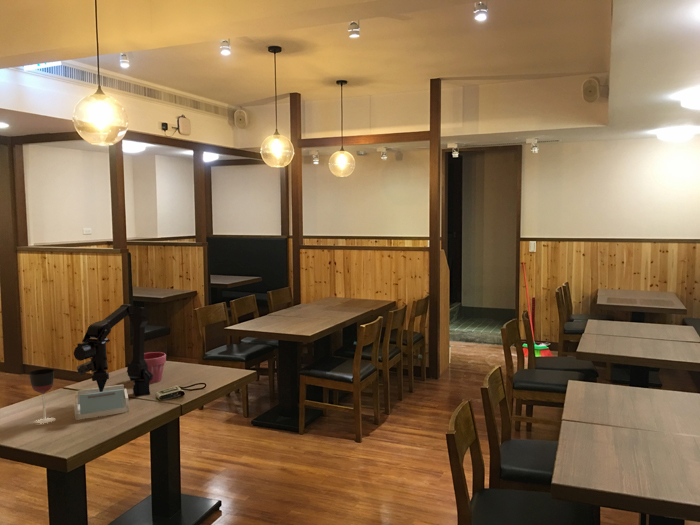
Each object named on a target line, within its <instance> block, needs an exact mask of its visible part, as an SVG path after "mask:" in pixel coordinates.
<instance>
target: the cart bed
mask: <svg viewBox="0 0 700 525" xmlns="http://www.w3.org/2000/svg"><path fill="white" fill-rule="evenodd" d="M124 386H125V385H124V384H117V385H109V386H104V389H103V392H105V391H112V390H120V389H123V404H124V408H118V409H111V410H105V411H98V412H91V413H85V414H80V398H79V395H83V394H91V393H98V392H100V391H99V388H98V387H93V388H87V389H80V390H77V394H76V395H74V404H73V405H74V419H75V421H78V420H85V418H86V419H90V418H91V419H92V418H98V416H99V417H104V416H110V415H117V414H123V413H124V412H125V413H129V412H130V406H129V405H130V404H129V403H130V402H129V395H128V390H127V388H125V387H124Z"/></svg>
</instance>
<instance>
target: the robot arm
mask: <svg viewBox="0 0 700 525" xmlns="http://www.w3.org/2000/svg"><path fill="white" fill-rule="evenodd" d="M127 317H129V322H130V324H131V326H132V352H131V353H132V356H131V361H130V362H128V363H127V365H126V367H127V368H126V369H127V370H126V373H127V376H128V377H129V378H128V379H129V380H130V381H131V382H133V383H132V394H133V395H134V396H135V397H141V396H148V395H151V390H150V383H149V381H151V380H152V378H153V375H152V374H151V373H150V372H149V371H148V365H147V363H146V361H145V359H144V353H145V339H146V338H145V335H146V334H145V331H146V330H145V328H146V326H147V324H148V323H149V320H150V310H149V309H148V308H147V307H140V306H139V307H138V306H136V305H133V304H128V303H126V304H125V303H123V304H121V305H120V306H119V307H118V308H117V309H115V310H114V311H113V312H112V313H110V314H108V316H106V317H105V318H104V319H102V320H99V321H95V322H93V323H92V324H90V325H88V327H87V330H86V331H85V334H84V337H83V339H82V341H81V342H78V343H77V344H76V345H77V346H76V347H75V348H74V351H73V356H74V359H75V360H77V361H81V362H82V361H85V360H87V359H90V360H89V361H86V362H84V363H82V364H78V365H77V366H76V370H77V373H78V374H79V376H83V375H84V374H87V373H88V372H90V371H91V381H92V382H95V381H96V383H97V388H99V391H100V392H103V389H104V387H106V383H107V381H108V380H109V379H110V374H109V371H108V370H109V365H108V354H107V343H109V342H110V341H111V340H110V339H109V338H107V337H108V336H109V335H110V334H111V332H112V329H113V328H114V327H115V326H116V325H118V324H119V323H120V322H121V321H123V320H124V319H125V318H127Z"/></svg>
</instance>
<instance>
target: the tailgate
mask: <svg viewBox="0 0 700 525" xmlns="http://www.w3.org/2000/svg"><path fill="white" fill-rule="evenodd" d="M79 398H80V414H85V413H91V412H98V411H105V410H111V409H118V408H124V404H123V389H120V390H112V391H105V392H98V393H91V394H83V395H79Z"/></svg>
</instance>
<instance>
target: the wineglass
mask: <svg viewBox="0 0 700 525" xmlns="http://www.w3.org/2000/svg"><path fill="white" fill-rule="evenodd" d="M28 375H29V380H30V381H29V382H30V385H31V389H32V390H33V391H34V392H36V393H40V394H41V397H42V398H41V400H42V410H43V411H42V413H43V419H42V418H39V419H40V420H39V419H37V420H38V421H37V420H36V421H37V423H40V424H39V425H45V424H44V423H47V424H49V423H48V422H51V423H53V422H55V421H56V418H55V417H51V418H49V417H46V400H45V393H47V392H48V391H50V390H51V389H52V388H53V385H54V381H55V370H54V369H52V368H42V369H36V370H33V371H30V372H29V373H28ZM53 420H54V421H53ZM52 421H53V422H52ZM42 423H43V424H42Z"/></svg>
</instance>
